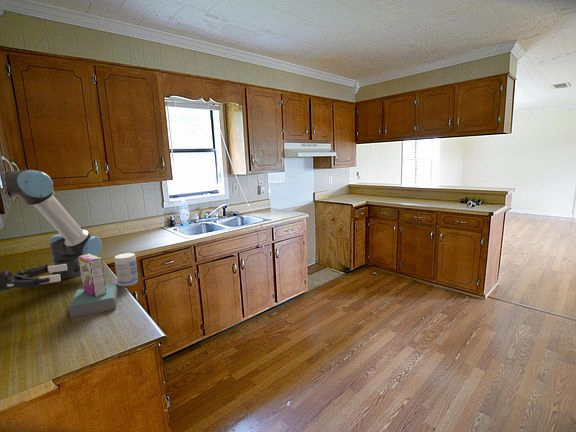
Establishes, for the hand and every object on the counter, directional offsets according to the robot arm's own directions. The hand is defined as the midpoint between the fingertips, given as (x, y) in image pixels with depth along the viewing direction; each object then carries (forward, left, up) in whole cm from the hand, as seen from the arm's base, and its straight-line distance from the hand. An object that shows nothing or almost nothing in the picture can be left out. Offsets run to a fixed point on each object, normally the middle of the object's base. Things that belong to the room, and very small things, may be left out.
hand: (63, 272), depth 128 cm
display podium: (+1, +10, -16) cm, 19 cm away
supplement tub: (-19, +22, -17) cm, 33 cm away
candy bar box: (0, +10, -11) cm, 15 cm away
